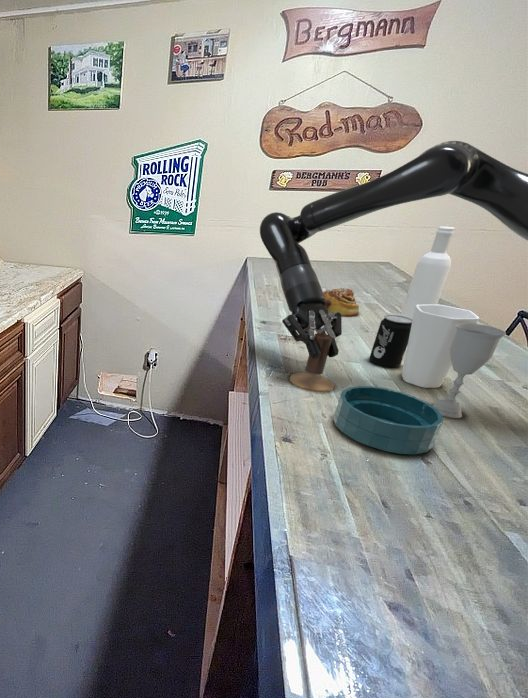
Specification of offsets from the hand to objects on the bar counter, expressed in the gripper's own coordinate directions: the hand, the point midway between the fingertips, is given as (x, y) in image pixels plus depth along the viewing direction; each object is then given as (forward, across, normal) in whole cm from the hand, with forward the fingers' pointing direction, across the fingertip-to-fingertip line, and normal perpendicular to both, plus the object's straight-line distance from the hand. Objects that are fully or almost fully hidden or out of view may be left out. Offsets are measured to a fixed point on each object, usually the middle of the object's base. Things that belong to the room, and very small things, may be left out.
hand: (325, 356), depth 100 cm
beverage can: (-1, +26, +12) cm, 29 cm away
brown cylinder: (+2, 0, +5) cm, 5 cm away
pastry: (-30, +46, +41) cm, 69 cm away
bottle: (-17, +57, +28) cm, 66 cm away
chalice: (+16, +18, -5) cm, 25 cm away
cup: (+6, +26, +4) cm, 27 cm away
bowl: (+19, -2, -8) cm, 21 cm away
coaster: (+4, 0, +7) cm, 8 cm away
